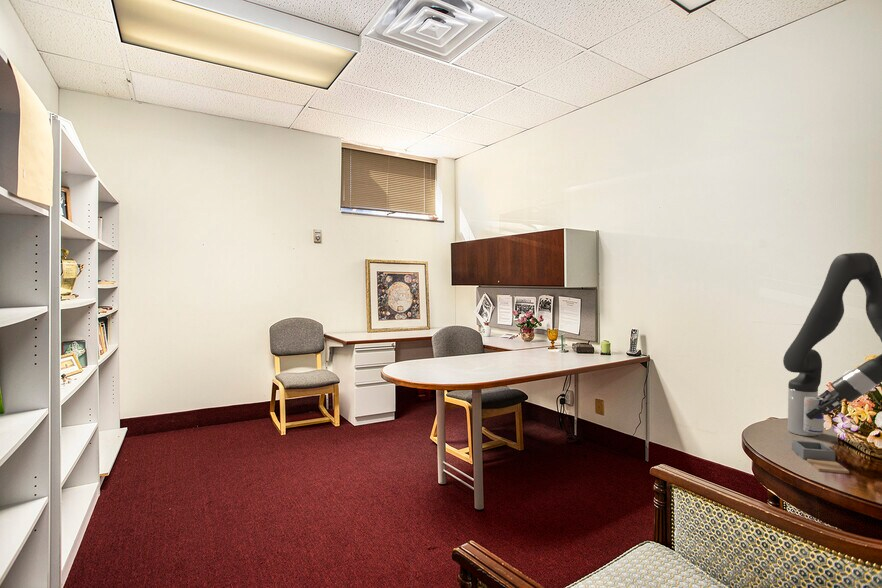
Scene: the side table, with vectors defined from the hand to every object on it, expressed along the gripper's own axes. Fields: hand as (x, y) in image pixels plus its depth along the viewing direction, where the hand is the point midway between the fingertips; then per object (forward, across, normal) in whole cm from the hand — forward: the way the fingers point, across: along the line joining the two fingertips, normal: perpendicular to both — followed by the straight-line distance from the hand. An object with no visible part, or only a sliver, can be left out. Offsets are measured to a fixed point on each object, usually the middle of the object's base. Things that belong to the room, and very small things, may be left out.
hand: (807, 414), depth 161 cm
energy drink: (+3, 0, +6) cm, 6 cm away
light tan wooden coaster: (+7, +10, +13) cm, 18 cm away
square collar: (+9, 0, +11) cm, 14 cm away
